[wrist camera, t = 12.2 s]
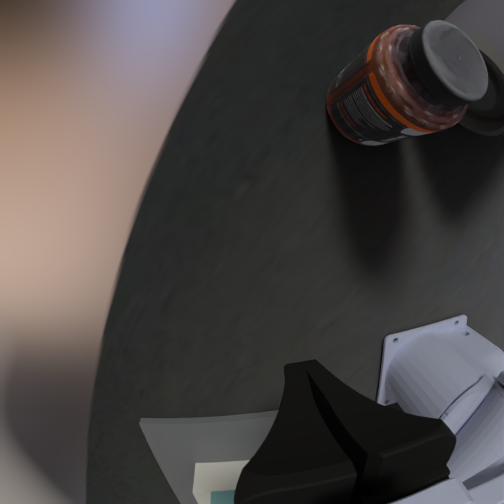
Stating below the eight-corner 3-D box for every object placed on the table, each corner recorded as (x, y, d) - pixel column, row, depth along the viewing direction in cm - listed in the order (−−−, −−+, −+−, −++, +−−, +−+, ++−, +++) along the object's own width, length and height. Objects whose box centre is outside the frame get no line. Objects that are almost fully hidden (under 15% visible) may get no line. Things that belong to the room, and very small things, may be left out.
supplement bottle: (381, 162, 20) (491, 153, 9) (311, 122, 20) (385, 66, 9) (405, 98, 19) (506, 58, 8) (340, 58, 19) (416, -20, 8)
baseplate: (357, 394, 25) (360, 399, 24) (344, 484, 28) (345, 488, 27) (141, 418, 24) (139, 423, 23) (183, 501, 27) (182, 506, 27)
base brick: (276, 456, 25) (281, 487, 21) (280, 494, 27) (284, 520, 23) (195, 462, 25) (192, 492, 21) (211, 499, 26) (210, 525, 22)
